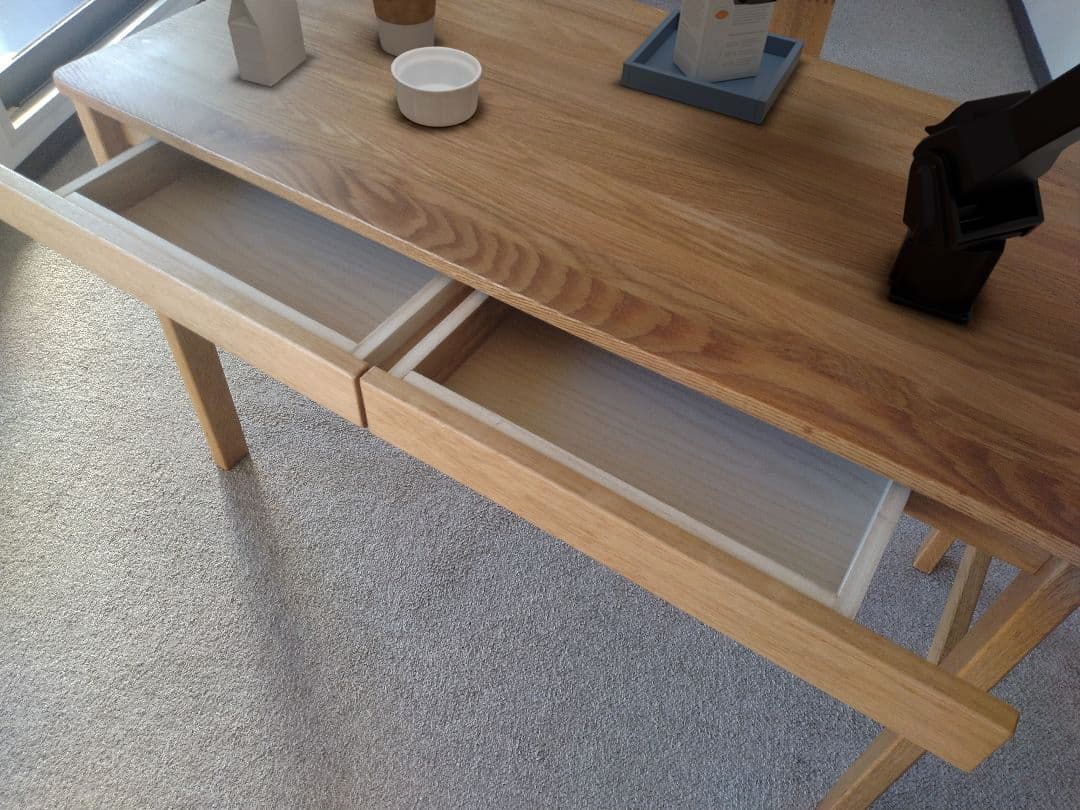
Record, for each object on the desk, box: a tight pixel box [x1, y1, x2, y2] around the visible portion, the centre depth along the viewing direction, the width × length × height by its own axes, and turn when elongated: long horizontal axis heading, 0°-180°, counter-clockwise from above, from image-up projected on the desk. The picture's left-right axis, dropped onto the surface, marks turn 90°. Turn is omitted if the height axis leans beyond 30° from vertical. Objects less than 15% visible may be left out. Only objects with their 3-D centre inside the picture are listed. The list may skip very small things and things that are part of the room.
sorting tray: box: [620, 7, 806, 125], centre depth 92 cm, size 16×16×2 cm
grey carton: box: [227, 0, 307, 87], centre depth 85 cm, size 4×7×10 cm, turn 159°
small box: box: [673, 0, 776, 83], centre depth 88 cm, size 8×6×10 cm
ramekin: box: [390, 46, 483, 128], centre depth 84 cm, size 9×9×4 cm
